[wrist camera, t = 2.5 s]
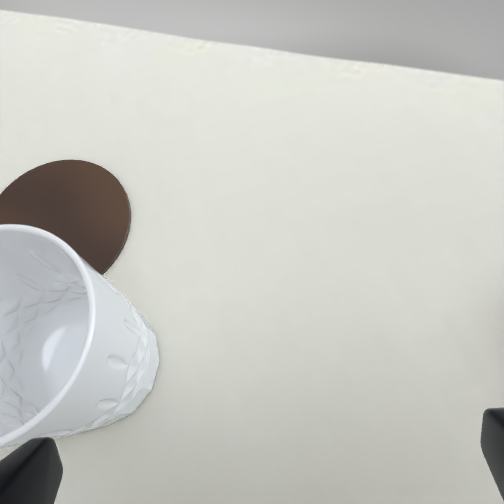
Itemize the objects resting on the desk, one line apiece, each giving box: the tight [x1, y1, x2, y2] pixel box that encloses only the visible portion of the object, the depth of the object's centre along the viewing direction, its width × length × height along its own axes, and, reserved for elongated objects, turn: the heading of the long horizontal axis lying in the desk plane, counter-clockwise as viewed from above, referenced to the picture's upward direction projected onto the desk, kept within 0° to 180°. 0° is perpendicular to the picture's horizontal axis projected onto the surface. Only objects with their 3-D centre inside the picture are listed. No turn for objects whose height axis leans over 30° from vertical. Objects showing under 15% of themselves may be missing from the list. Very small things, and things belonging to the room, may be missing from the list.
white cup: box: [0, 224, 160, 448], centre depth 19 cm, size 8×8×10 cm
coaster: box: [0, 160, 131, 275], centre depth 27 cm, size 10×10×1 cm
